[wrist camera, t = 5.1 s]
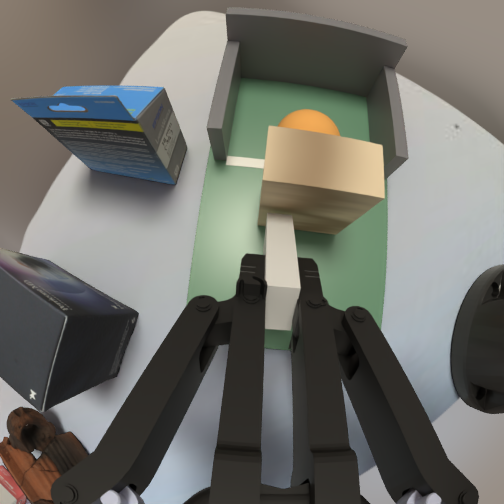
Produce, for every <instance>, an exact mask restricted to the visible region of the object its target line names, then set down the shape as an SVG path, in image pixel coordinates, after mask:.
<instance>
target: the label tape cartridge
mask: <svg viewBox="0 0 504 504" xmlns="http://www.w3.org/2000/svg"><path fill="white" fill-rule="evenodd" d="M11 101H13V102H14V103H15V104H17V105H18V106H19V107H20V108H21V109H22V110H24V111H25V112H26V113H27V114H29V115H30V116H31V117H33V118H34V119H35V120H36V121H37V122H38V123H39V124H40V125H42V126H43V127H44V128H45V129H46V130H47V131H48V132H49V133H50V134H51V135H53V136H54V137H55V138H56V139H57V140H58V141H59V142H61V143H62V144H63V145H64V146H65V147H66V148H67V149H68V150H69V151H71V152H72V153H73V154H74V155H75V156H76V157H78V158H79V159H80V160H81V161H82V162H83V163H84V164H86V165H87V166H88V167H89V168H90V169H92V170H96V171H101V172H107V173H112V174H118V175H123V176H129V177H134V178H140V179H146V180H151V181H156V182H161V183H167V184H174V185H175V184H176V182H177V179H178V175H179V172H180V169H181V165H182V162H183V159H184V156H185V153H186V149H187V145H186V142H185V139H184V137H183V134H182V132H181V129H180V127H179V124H178V121H177V119H176V116H175V113H174V111H173V109H172V106H171V103H170V101H169V98H168V96H167V93H166V90H165V88H164V87H147V86H72V87H62V88H61V89H60V90H59V91H58V92H56V93H55V94H54V95H53V96H40V97H27V98H13V99H11Z"/></svg>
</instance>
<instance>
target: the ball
mask: <svg viewBox="0 0 504 504" xmlns="http://www.w3.org/2000/svg"><path fill="white" fill-rule="evenodd" d="M277 127H285V128H292V129H299V130H306V131H312V132H319V133H325V134H330V135H336V136H340V133H339V130H338V128H337V126H336V125H335V123H334V122H333V121H332V120H331V119H330V118H329V117H328V116H326V115H325V114H323V113H321V112H319V111H316V110H310V109H302V110H297V111H294V112H292V113H290V114H288V115H287V116H285V117H284V118H283V119H282V120H281V122H280V123H279V125H278V126H277Z"/></svg>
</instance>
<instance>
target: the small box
mask: <svg viewBox="0 0 504 504" xmlns="http://www.w3.org/2000/svg"><path fill="white" fill-rule="evenodd" d="M137 317H138V312H137V311H135V310H133V309H132V308H130V307H128V306H126V305H124V304H122V303H120V302H119V301H117V300H115V299H113V298H111V297H109V296H108V295H106V294H104V293H102V292H101V291H99V290H97V289H95V288H94V287H92V286H90V285H88V284H87V283H85V282H83V281H82V280H80V279H78V278H77V277H75V276H73V275H72V274H70V273H68V272H67V271H65V270H64V269H62V268H61V267H59V266H57V265H56V264H54V263H52V262H51V261H49V260H46V259H42V258H37V257H33V256H29V255H25V254H22V253H17V252H13V251H10V250H6V249H3V248H0V377H1V378H2V379H3V380H4V381H5V382H6V383H7V384H9V385H10V386H11V387H12V388H13V389H14V390H15V391H16V392H17V393H18V394H20V395H21V396H22V397H23V398H24V399H25V400H27V401H28V402H29V403H30V404H31V405H33V406H34V407H35V408H36V409H37V410H39V411H40V412H45V411H47V410H48V409H50V408H51V407H53V406H55V405H57V404H59V403H61V402H63V401H65V400H68V399H70V398H71V397H74V396H76V395H78V394H80V393H82V392H84V391H86V390H88V389H90V388H92V387H94V386H96V385H98V384H100V383H102V382H104V381H106V380H109V379H111V378H114V377H117V374H118V371H119V366H120V364H121V360H122V357H123V354H124V353H125V349H126V346H127V344H128V341H129V338H130V336H131V335H132V333H133V330H134V326H135V323H136V319H137Z"/></svg>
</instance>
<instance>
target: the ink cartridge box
mask: <svg viewBox="0 0 504 504" xmlns="http://www.w3.org/2000/svg"><path fill="white" fill-rule="evenodd" d="M25 501H26V496H25V495H24V493H23V492H22V491H21V489H20V488H19V486H18V485H17V484H16V482H15V481H14V479H13V478H12V476H11V474H10V473H9V472H8V471H7V470H6V469H5V468H4V467H3V466H0V504H25Z"/></svg>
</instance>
